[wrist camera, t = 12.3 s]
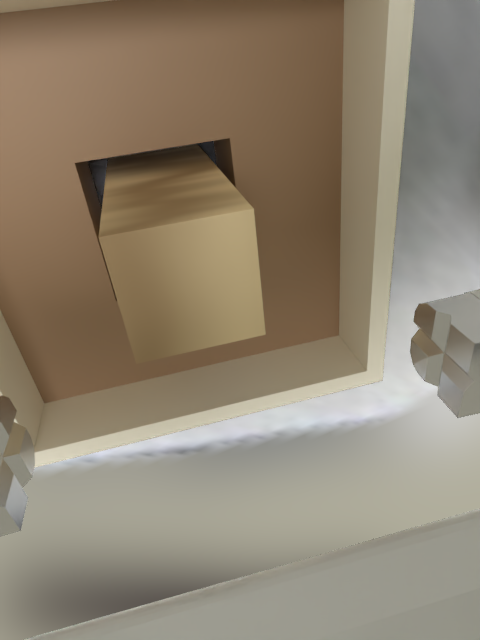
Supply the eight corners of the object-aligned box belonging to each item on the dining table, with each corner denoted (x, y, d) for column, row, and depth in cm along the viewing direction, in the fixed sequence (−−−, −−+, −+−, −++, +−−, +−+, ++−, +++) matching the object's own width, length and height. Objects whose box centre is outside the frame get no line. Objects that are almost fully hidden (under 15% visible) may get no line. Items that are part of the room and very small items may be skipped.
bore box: (320, -38, 17) (422, -85, 12) (323, 307, 26) (382, 380, 20) (-116, 9, 15) (-263, -20, 9) (45, 368, 24) (20, 471, 18)
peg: (197, 144, 20) (253, 208, 11) (210, 228, 22) (265, 334, 14) (108, 158, 19) (98, 237, 11) (130, 243, 21) (136, 363, 13)
